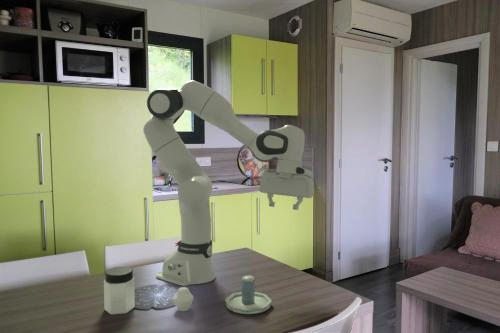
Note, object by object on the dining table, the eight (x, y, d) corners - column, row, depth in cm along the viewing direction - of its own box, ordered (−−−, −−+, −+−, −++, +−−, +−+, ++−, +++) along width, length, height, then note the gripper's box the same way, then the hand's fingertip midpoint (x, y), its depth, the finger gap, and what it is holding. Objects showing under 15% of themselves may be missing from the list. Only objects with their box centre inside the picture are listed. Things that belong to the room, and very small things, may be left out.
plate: (218, 310, 122) (218, 304, 122) (238, 293, 135) (238, 288, 135) (260, 318, 116) (260, 313, 116) (277, 301, 129) (277, 295, 129)
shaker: (239, 303, 125) (239, 278, 124) (245, 298, 128) (245, 274, 128) (251, 305, 123) (251, 280, 122) (256, 301, 127) (256, 276, 126)
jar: (102, 316, 118) (101, 276, 117) (106, 304, 126) (105, 267, 125) (134, 313, 120) (133, 274, 119) (135, 302, 128) (134, 265, 127)
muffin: (175, 304, 126) (175, 283, 125) (195, 305, 126) (194, 283, 125) (171, 313, 120) (171, 290, 119) (191, 313, 119) (191, 291, 119)
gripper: (259, 166, 146) (253, 203, 144) (311, 170, 136) (306, 210, 134) (267, 169, 152) (261, 205, 150) (317, 173, 141) (312, 212, 140)
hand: (283, 208), depth 142 cm, fingers open, 8 cm apart
